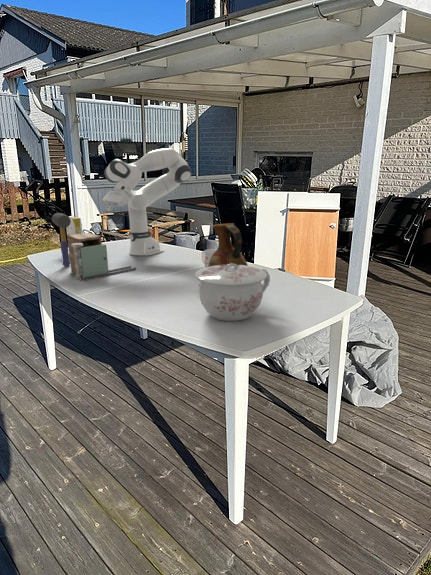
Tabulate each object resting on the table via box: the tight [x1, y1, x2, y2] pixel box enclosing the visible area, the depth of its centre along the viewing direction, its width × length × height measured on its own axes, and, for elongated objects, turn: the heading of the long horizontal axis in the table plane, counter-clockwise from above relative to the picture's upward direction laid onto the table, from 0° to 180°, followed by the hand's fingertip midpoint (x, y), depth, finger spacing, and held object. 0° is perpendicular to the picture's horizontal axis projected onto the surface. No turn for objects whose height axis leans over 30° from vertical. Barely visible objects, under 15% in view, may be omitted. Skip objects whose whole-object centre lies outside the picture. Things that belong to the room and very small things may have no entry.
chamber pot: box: [194, 263, 271, 322], centre depth 154 cm, size 28×28×21 cm
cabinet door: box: [78, 243, 109, 281], centre depth 206 cm, size 15×4×16 cm, turn 133°
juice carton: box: [65, 215, 84, 236], centre depth 256 cm, size 9×8×24 cm
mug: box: [201, 248, 218, 268], centre depth 218 cm, size 12×9×11 cm
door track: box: [80, 265, 137, 282], centre depth 213 cm, size 30×5×1 cm, turn 133°
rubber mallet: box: [51, 212, 71, 268], centre depth 223 cm, size 12×8×30 cm, turn 37°
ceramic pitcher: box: [208, 222, 249, 267], centre depth 189 cm, size 20×20×30 cm
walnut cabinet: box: [66, 232, 103, 282], centre depth 210 cm, size 16×18×20 cm
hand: (107, 210), depth 221 cm, fingers closed
